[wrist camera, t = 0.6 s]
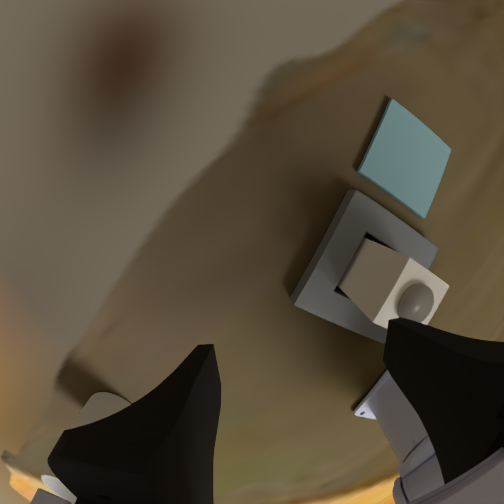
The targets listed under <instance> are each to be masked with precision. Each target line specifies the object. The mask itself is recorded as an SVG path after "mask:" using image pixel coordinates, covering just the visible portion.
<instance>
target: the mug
mask: <svg viewBox="0 0 504 504" xmlns="http://www.w3.org/2000/svg"><path fill="white" fill-rule="evenodd" d="M129 405H131V403H129V402H128V401H127V400H125V399H123V398H122V397H120V396H117V395H115V394H112V393H108V392H98V393H95V394H93V395H92V396H91V397H90V399H89V400H88V401H87V403H86V404H85V406H84V407H83V409H82V410H81V411H80V413H79V415H78V416H77V418H76V419H75V421H74V422H73V424H72V426H71V427H70V429H72V428H76V427H79V426H83V425H86V424H90V423H93V422H95V421H98V420H101V419H103V418H106V417H108V416H110V415H112V414H114V413H117V412H119V411H120V410H122V409H124V408H126V407H128V406H129ZM41 479H42V481H43V482H44V484H45V485H46V486H47V487H48V488H49V489H50V490H51V491H52V492H54V493H55V494H56V495H57V496H59V497H61V498H63V499H65V500H67V501H69V502H71V503H72V504H75V502H76V499H77V497H75V496H74V495H73V494H72V493H71V492H70V491H69V490H68V489H67V488H66V487H65V486H64V485H63V484H62V483H61V481H60V480H59V479H58V478H57V477H56V476H55V475H54V473H53V472H52V471H51V469H50V467H49V465H47V467H46V469H45V471H44V473H43V474H42V475H41Z"/></svg>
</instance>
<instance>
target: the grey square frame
mask: <svg viewBox="0 0 504 504" xmlns="http://www.w3.org/2000/svg"><path fill="white" fill-rule="evenodd" d="M365 233H366V234H368V235H370V236H371V237H373V238H374V239H376V240H378V241H379V242H381V243H382V244H384V245H385V246H387V247H388V248H390V249H392V250H395V251H397V252H399V253H401V254H404V255H406V256H408V257H410V258H412V259H413V260H414V261H416V262H417V263H419V264H420V265H422V266H423V267H424V268H426V269H427V270H428V269H429V267H430V265H431V263H432V261H433V259H434V257H435V255H436V253H437V251H438V248H437V247H436V246H434V245H433V244H432V243H431V242H429V241H428V240H427V239H425V238H424V237H423V236H422V235H420V234H419V233H418V232H416V231H415V230H414V229H412V228H411V227H410V226H408V225H407V224H406V223H404V222H403V221H401V220H400V219H399V218H397V217H396V216H394V215H393V214H392V213H390V212H389V211H387V210H386V209H384V208H383V207H382V206H380V205H379V204H377V203H376V202H374V201H373V200H371V199H370V198H368V197H367V196H365V195H364V194H362V193H361V192H359V191H358V190H351V189H348V191H347V193H346V195H345V197H344V199H343V201H342V203H341V205H340V207H339V208H338V210H337V212H336V214H335V216H334V218H333V220H332V222H331V224H330V226H329V228H328V230H327V232H326V233H325V235H324V237H323V239H322V241H321V243H320V245H319V246H318V248H317V250H316V252H315V254H314V256H313V257H312V259H311V261H310V263H309V265H308V266H307V268H306V270H305V272H304V274H303V275H302V277H301V279H300V281H299V282H298V284H297V286H296V288H295V289H294V291H293V293H292V295H291V296H290V298H291V301H292V303H293V305H294V306H296V307H299V308H301V309H303V310H305V311H308V312H310V313H312V314H314V315H317V316H319V317H321V318H323V319H326V320H328V321H330V322H333V323H335V324H337V325H340V326H342V327H344V328H347V329H349V330H351V331H354V332H356V333H358V334H361V335H363V336H365V337H368V338H370V339H372V340H375V341H377V342H380V343H382V344H384V343H385V342H386V336H387V329H386V328H384V327H382V326H380V325H377V324H375V323H373V322H372V321H371V320H370V319H369V318H368V317H367V316H366V315H365V314H364V313H363V312H362V311H361V309H360V308H359V307H358V306H357V305H356V304H355V303H354V302H353V301H352V300H351V299H350V298H349V297H348V296H347V295H346V294H345V293H343V292H341V291H339V290H337V289H335V288H336V286H337V284H338V282H339V281H340V279H341V277H342V275H343V274H344V272H345V270H346V268H347V267H348V265H349V263H350V261H351V259H352V258H353V256H354V254H355V252H356V250H357V248H358V246H359V245H360V243H361V241H362V239H363V237H364V235H365Z"/></svg>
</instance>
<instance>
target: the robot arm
mask: <svg viewBox="0 0 504 504" xmlns="http://www.w3.org/2000/svg"><path fill="white" fill-rule="evenodd" d="M383 361H384V363H385V365H386V367H387V370H386V372H385V373H384V374H383V376H382V377H381V378H380V380H379V381H378V382H377V383H376V385H375V386H374V387H373V388H372V390H371V391H370V392H369V393H368V394H367V396H366V397H365V398H364V399H363V400H362V402H361V403H360V404H359V405H358V406H357V407H356V409H355V410H354V414H355V415H356V416H361V417H366V418H372V419H377V421H378V423H379V425H380V427H381V428H382V430H383V432H384V434H385V436H386V437H387V439H388V441H389V443H390V445H391V447H392V449H393V450H394V452H395V454H396V456H397V458H398V460H399V462H400V463H401V465H400V466H399V467H398V468H397V471H398V473H399V474H400V477H399V478H397V479H396V480H395V482H394V487H393V498H394V501H395V504H504V342H496V341H485V340H479V339H473V338H468V337H464V336H460V335H456V334H453V333H449V332H446V331H443V330H440V329H437V328H434V327H431V326H428V325H425V324H422V323H419V322H416V321H413V320H410V319H406V318H402V317H399V318H395V319H390V320H388V328H387V336H386V344H385V350H384V357H383ZM220 407H221V381H220V376H219V371H218V366H217V361H216V356H215V350H214V345H213V344H205V345H197V347H196V348H195V349H194V350H193V351H192V352H191V353H190V354H189V355H188V356H187V358H186V359H185V360H184V361H183V362H182V363H181V364H180V365H179V366H178V367H177V368H176V369H175V371H174V372H173V373H171V374H170V375H169V376H168V377H167V378H166V379H165V380H164V381H163V382H162V383H161V384H160V385H158V386H157V387H156V388H155V389H153V390H152V391H151V392H149V393H148V394H147V395H145V396H144V397H142V398H141V399H139V400H138V401H136V402H134V403H133V404H131V405H129V406H128V407H126V408H124V409H122V410H120V411H119V412H117V413H114V414H112V415H110V416H108V417H106V418H103V419H101V420H98V421H95V422H93V423H90V424H86V425H83V426H79V427H76V428H72V429H68V430H64V432H63V433H62V435H61V437H60V438H59V440H58V442H57V443H56V445H55V447H54V448H53V450H52V452H51V453H50V455H49V457H48V465H49V467H50V469H51V471H52V472H53V473H54V475H55V476H56V477H57V478H58V479H59V480H60V481H61V483H62V484H63V485H64V486H65V487H66V488H67V489H68V490H69V491H70V492H71V493H72V494H73V495H74V496H75V497H77V499H76V502H75V504H213V457H214V447H215V440H216V434H217V427H218V421H219V414H220ZM31 504H72V503H71V502H69V501H67V500H65V499H63V498H61V497H59V496H56V495H54V494H52V493H49V492H47V491H45V490H43V489H38V490H37V492H36V494H35V496H34V498H33V500H32V502H31Z"/></svg>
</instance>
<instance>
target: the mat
mask: <svg viewBox="0 0 504 504" xmlns="http://www.w3.org/2000/svg"><path fill="white" fill-rule="evenodd" d="M450 152H451V149H450V148H449V147H448V146H447V145H446V144H445V143H444V142H443V141H442V140H441V139H440V138H439V137H438V136H437V135H436V134H435V133H433V132H432V131H431V130H430V129H429V128H428V127H427V126H426V125H424V124H423V123H422V122H421V121H420V120H419V119H417V118H416V117H415V116H414V115H413V114H411V113H410V112H409V111H408V110H406V109H405V108H404V107H403V106H401V105H400V104H399V103H397V102H396V101H395V100H393V99H391V100H389V102H388V104H387V107H386V109H385V111H384V114H383V116H382V118H381V121H380V123H379V125H378V127H377V130H376V132H375V134H374V136H373V138H372V141H371V143H370V145H369V147H368V149H367V151H366V153H365V156H364V158H363V160H362V162H361V164H360V166H359V168H358V170H357V172H358V173H359V174H361V175H362V176H364V177H365V178H367V179H368V180H370V181H371V182H373V183H374V184H376V185H377V186H378V187H380V188H381V189H383V190H384V191H386V192H387V193H388V194H390V195H391V196H392V197H394V198H395V199H397V200H398V201H399V202H401V203H402V204H403V205H405V206H406V207H407V208H409V209H410V210H411V211H412V212H414V213H415V214H416V215H418V216H419V217H420V218H422V219H425V217H426V215H427V212H428V210H429V208H430V205H431V203H432V200H433V198H434V196H435V193H436V191H437V188H438V186H439V183H440V180H441V178H442V175H443V172H444V169H445V167H446V164H447V161H448V158H449V155H450Z"/></svg>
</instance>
